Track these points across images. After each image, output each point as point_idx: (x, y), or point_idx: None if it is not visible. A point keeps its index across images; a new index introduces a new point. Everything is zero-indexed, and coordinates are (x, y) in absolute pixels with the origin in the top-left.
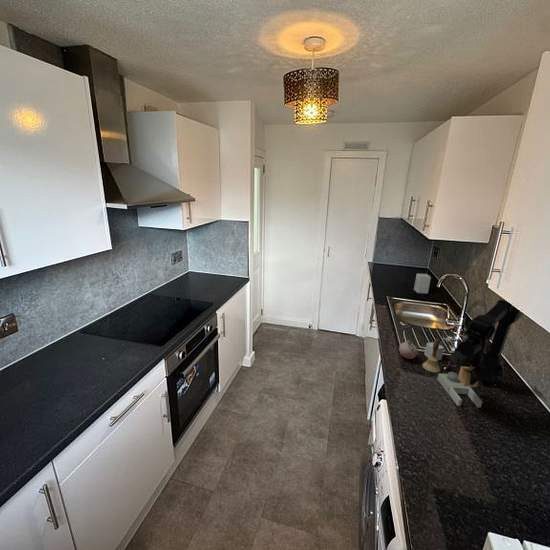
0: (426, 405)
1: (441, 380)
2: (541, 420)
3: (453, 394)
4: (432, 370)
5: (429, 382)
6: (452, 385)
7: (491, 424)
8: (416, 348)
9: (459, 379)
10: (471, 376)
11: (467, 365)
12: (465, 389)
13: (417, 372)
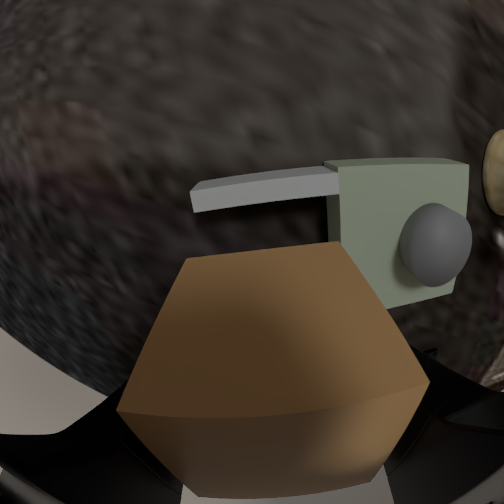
0: (157, 6)
1: (421, 160)
2: None
3: (269, 177)
4: (491, 161)
5: (404, 88)
6: (363, 204)
7: (117, 302)
8: None
9: (304, 248)
10: (110, 421)
11: (412, 457)
12: None
13: (468, 70)
